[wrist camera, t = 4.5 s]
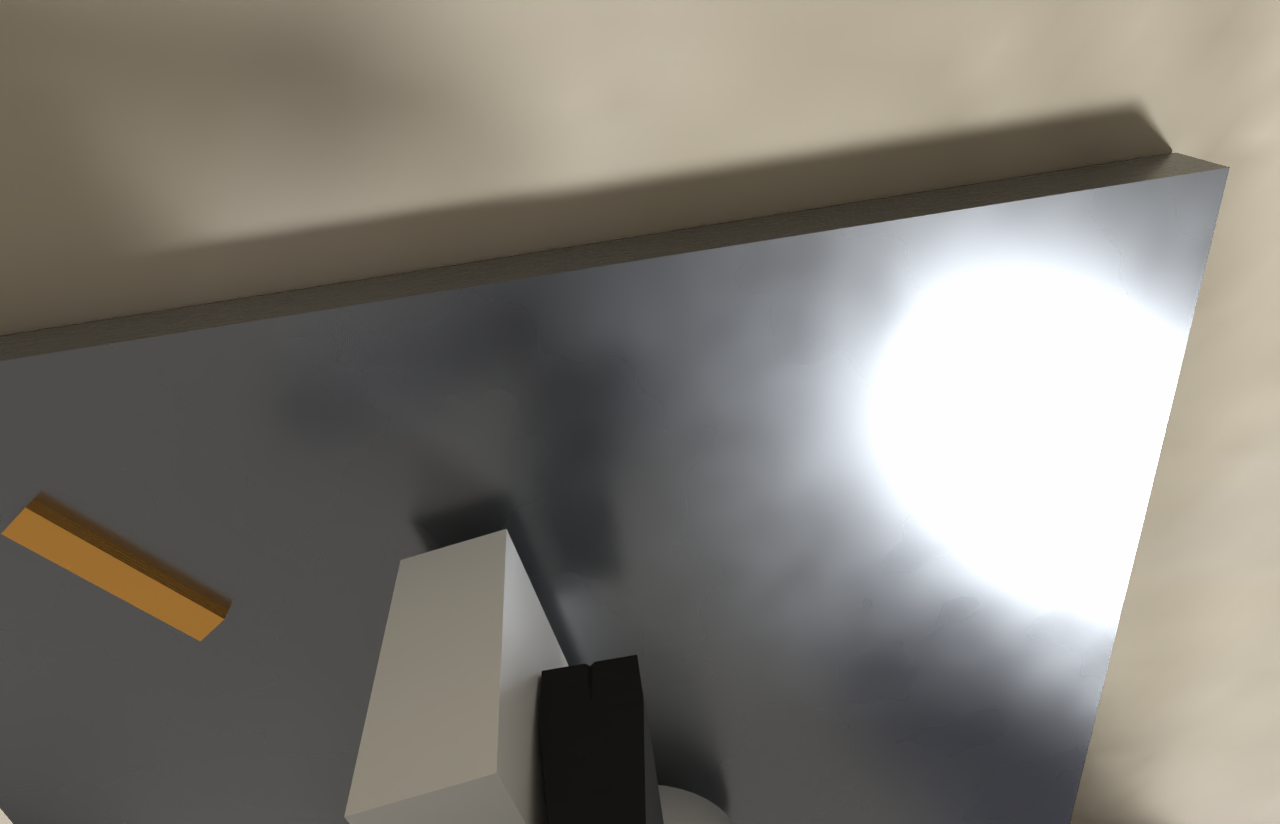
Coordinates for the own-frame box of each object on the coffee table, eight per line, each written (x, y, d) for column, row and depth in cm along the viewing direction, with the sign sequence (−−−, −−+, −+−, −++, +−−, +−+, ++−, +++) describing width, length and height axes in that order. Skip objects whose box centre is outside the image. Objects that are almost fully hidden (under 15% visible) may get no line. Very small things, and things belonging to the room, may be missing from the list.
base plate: (1017, 913, 21) (1100, 1074, 18) (268, 1064, 20) (221, 1260, 17) (1176, 152, 11) (1419, 219, 8) (-262, 377, 11) (-596, 548, 7)
